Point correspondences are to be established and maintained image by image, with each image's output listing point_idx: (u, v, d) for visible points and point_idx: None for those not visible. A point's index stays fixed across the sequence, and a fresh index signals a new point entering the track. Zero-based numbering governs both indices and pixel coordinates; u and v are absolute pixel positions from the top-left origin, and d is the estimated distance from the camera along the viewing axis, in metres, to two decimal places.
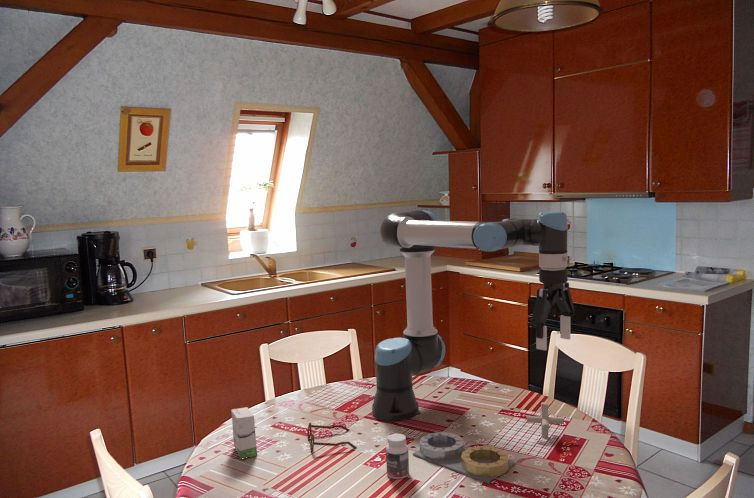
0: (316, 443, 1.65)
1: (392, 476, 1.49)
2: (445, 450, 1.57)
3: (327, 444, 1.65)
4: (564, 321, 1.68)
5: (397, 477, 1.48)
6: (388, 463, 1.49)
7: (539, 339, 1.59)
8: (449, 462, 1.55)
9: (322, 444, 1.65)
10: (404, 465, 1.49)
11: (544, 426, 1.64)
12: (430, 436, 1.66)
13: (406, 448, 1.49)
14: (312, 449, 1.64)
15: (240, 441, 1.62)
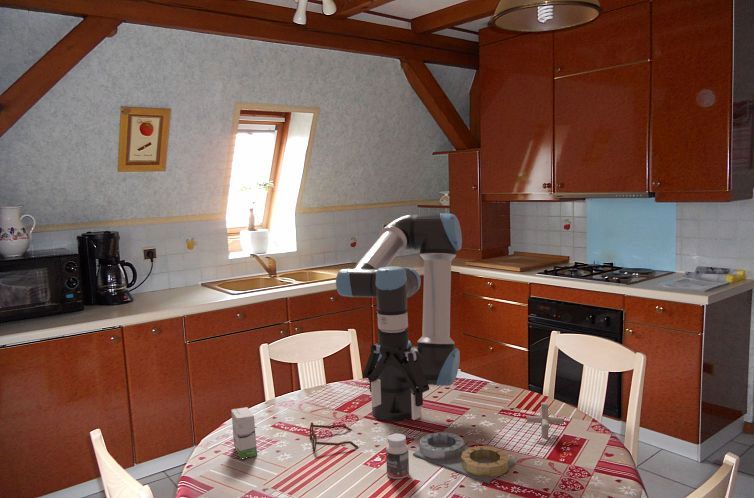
0: (318, 443, 1.65)
1: (392, 476, 1.49)
2: (445, 450, 1.57)
3: (329, 444, 1.65)
4: None
5: (397, 477, 1.48)
6: (388, 463, 1.49)
7: None
8: (449, 462, 1.55)
9: (324, 444, 1.65)
10: (404, 465, 1.49)
11: (544, 426, 1.64)
12: (430, 436, 1.66)
13: (406, 448, 1.49)
14: (314, 449, 1.64)
15: (240, 441, 1.62)
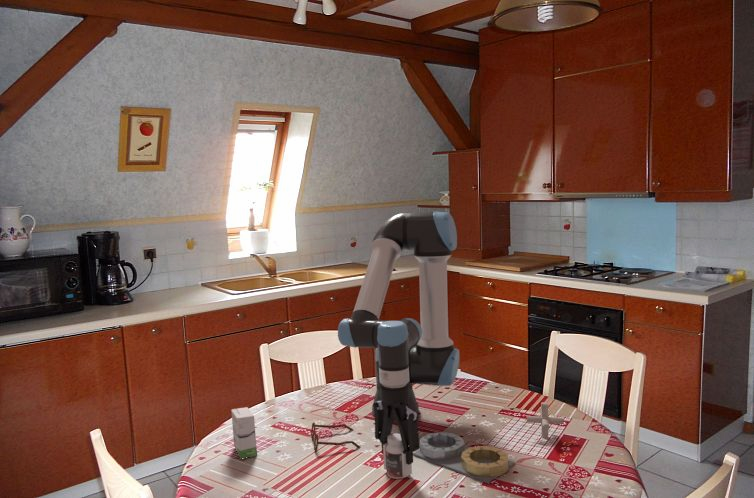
0: (320, 442, 1.65)
1: (392, 476, 1.49)
2: (445, 450, 1.57)
3: (331, 443, 1.65)
4: None
5: (397, 477, 1.48)
6: (388, 463, 1.49)
7: None
8: (449, 462, 1.55)
9: (326, 443, 1.65)
10: None
11: (544, 426, 1.64)
12: (430, 436, 1.66)
13: None
14: (316, 448, 1.65)
15: (240, 441, 1.62)
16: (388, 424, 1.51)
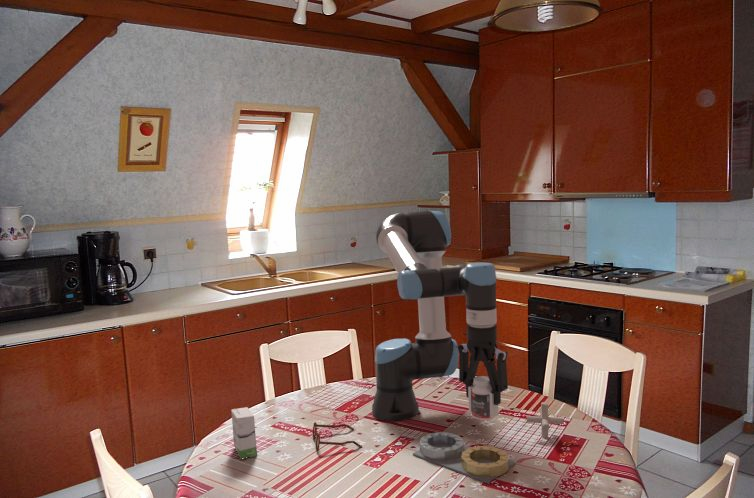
0: (322, 442, 1.65)
1: (479, 417, 1.49)
2: (445, 450, 1.57)
3: (333, 443, 1.66)
4: None
5: (484, 418, 1.48)
6: (475, 404, 1.49)
7: None
8: (449, 462, 1.55)
9: (328, 443, 1.65)
10: None
11: (544, 426, 1.64)
12: (430, 436, 1.66)
13: None
14: (318, 448, 1.65)
15: (240, 441, 1.62)
16: (474, 366, 1.51)
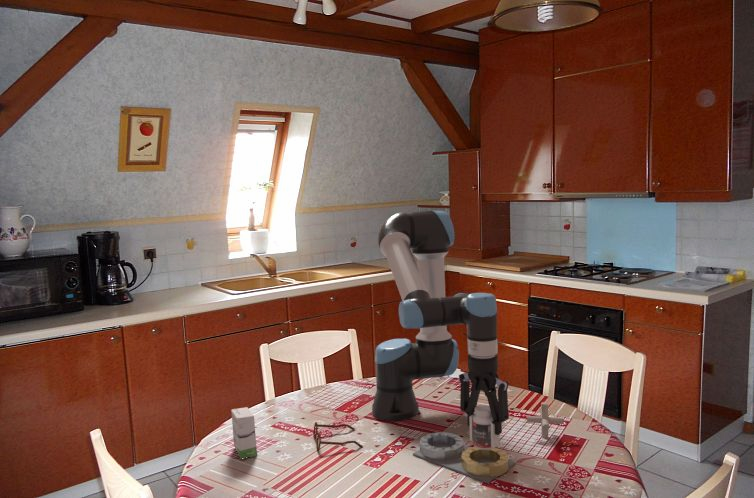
0: (322, 442, 1.65)
1: (480, 447, 1.50)
2: (445, 450, 1.57)
3: (333, 443, 1.66)
4: None
5: (485, 448, 1.49)
6: (476, 434, 1.50)
7: None
8: (449, 462, 1.55)
9: (328, 443, 1.65)
10: None
11: (544, 426, 1.64)
12: (430, 436, 1.66)
13: None
14: (318, 448, 1.65)
15: (240, 441, 1.62)
16: (475, 395, 1.52)
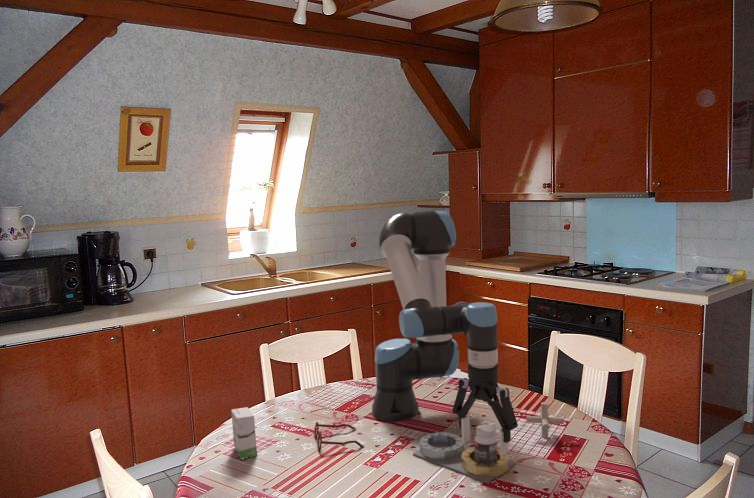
0: (324, 442, 1.65)
1: None
2: (445, 450, 1.57)
3: (334, 443, 1.66)
4: None
5: None
6: (477, 453, 1.51)
7: None
8: (449, 462, 1.55)
9: (329, 443, 1.65)
10: (493, 455, 1.50)
11: (544, 426, 1.64)
12: (430, 436, 1.66)
13: (495, 439, 1.51)
14: (320, 448, 1.65)
15: (240, 441, 1.62)
16: (471, 402, 1.53)
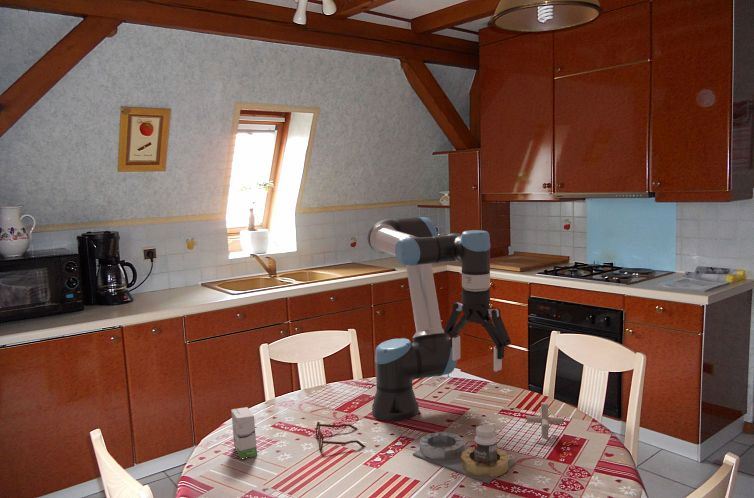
0: (325, 442, 1.65)
1: None
2: (445, 450, 1.57)
3: (336, 443, 1.66)
4: None
5: None
6: (477, 453, 1.51)
7: None
8: (449, 462, 1.55)
9: (331, 443, 1.65)
10: (493, 456, 1.50)
11: (544, 426, 1.64)
12: (430, 436, 1.66)
13: (495, 439, 1.51)
14: (321, 448, 1.65)
15: (240, 441, 1.62)
16: (463, 324, 1.62)
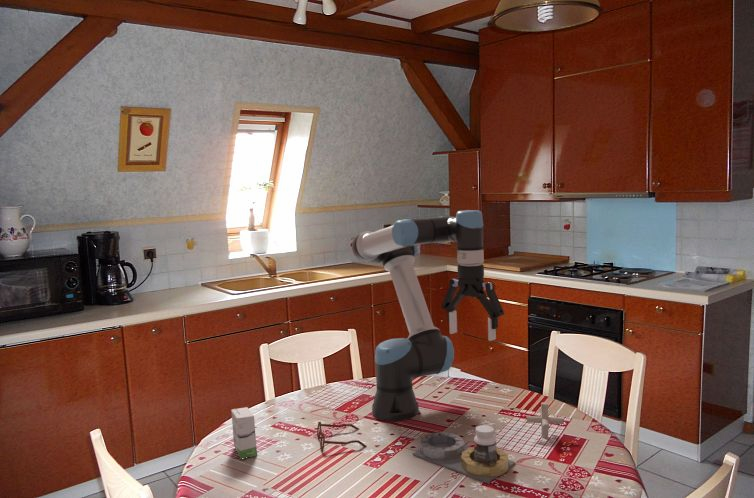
0: (326, 442, 1.65)
1: None
2: (445, 450, 1.57)
3: (337, 443, 1.66)
4: None
5: None
6: (476, 454, 1.51)
7: None
8: (449, 462, 1.55)
9: (332, 443, 1.65)
10: (493, 456, 1.50)
11: (544, 426, 1.64)
12: (430, 436, 1.66)
13: (494, 439, 1.51)
14: (322, 448, 1.65)
15: (240, 441, 1.62)
16: (459, 298, 1.73)
